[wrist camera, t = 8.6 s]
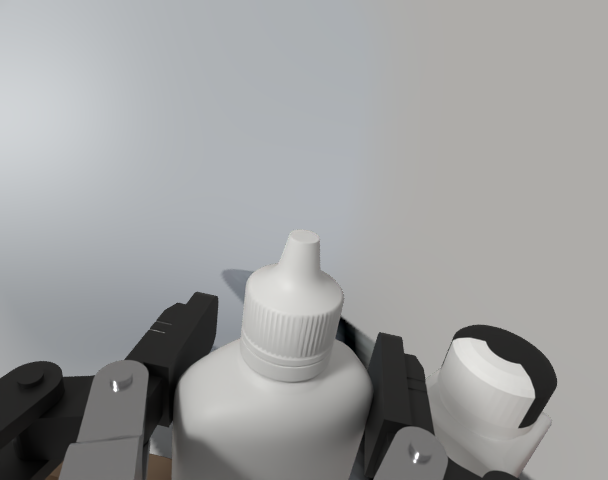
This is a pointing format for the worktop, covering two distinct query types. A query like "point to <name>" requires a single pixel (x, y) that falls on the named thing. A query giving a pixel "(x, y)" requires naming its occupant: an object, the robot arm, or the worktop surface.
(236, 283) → the worktop surface
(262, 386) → the eye dropper bottle
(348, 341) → the worktop surface
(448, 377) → the medicine bottle
